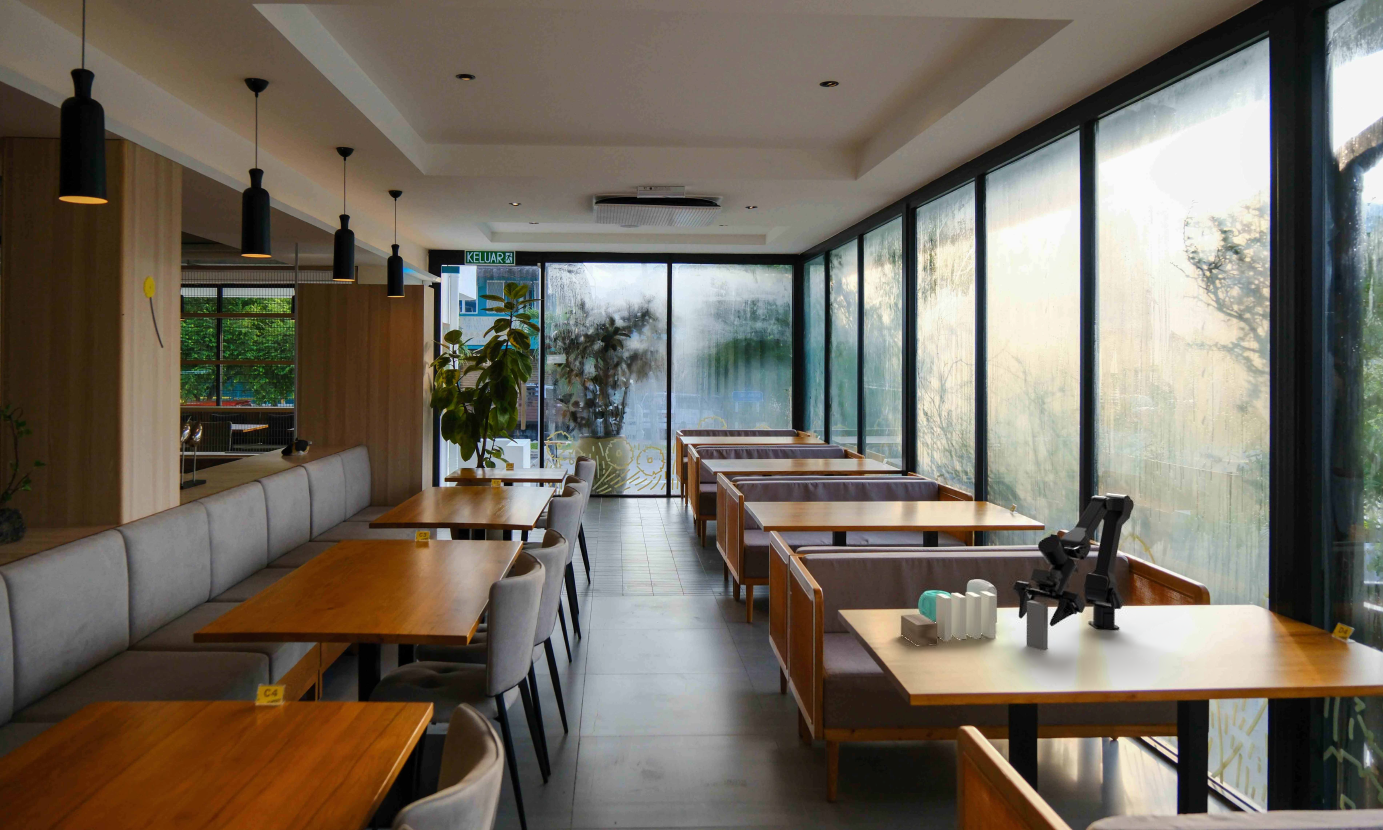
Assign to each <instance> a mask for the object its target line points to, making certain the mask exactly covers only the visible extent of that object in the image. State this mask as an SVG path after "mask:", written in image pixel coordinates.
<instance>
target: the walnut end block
mask: <svg viewBox="0 0 1383 830" xmlns="http://www.w3.org/2000/svg"><path fill="white" fill-rule="evenodd" d="M900 620H901V621H900V635H903V636H904V637H906V638H907V639H909V640H910V641H912V642H913V643H914V644H913V643H912V642H911V643H912V644H913V645H915V644H916V645H925V646H930V645H929V644H937V645H938V637H937V623H935V622H934V621H932V620H930V619H928V618H927V617H925V616H923V615H921V614H920V613H919V614H917V613H916V614H901V615H900ZM904 637H903V638H904ZM906 638H905V639H906ZM907 639H906V640H907ZM909 640H908V641H909ZM910 641H909V642H910ZM916 645H915V646H916Z"/></svg>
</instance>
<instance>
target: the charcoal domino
mask: <svg viewBox="0 0 1383 830" xmlns="http://www.w3.org/2000/svg"><path fill="white" fill-rule="evenodd" d="M1048 623H1049V604H1048V603H1044V602H1041V601H1035V600H1033V601H1027V613H1026V646H1029V647H1031V648H1035V649H1039V650H1042V651H1044V650H1047V649H1049V648H1048V646H1049V645H1048V643H1049V641H1048V640H1049V636H1048V635H1049V630H1048V629H1049V627H1048V626H1049V624H1048Z"/></svg>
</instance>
